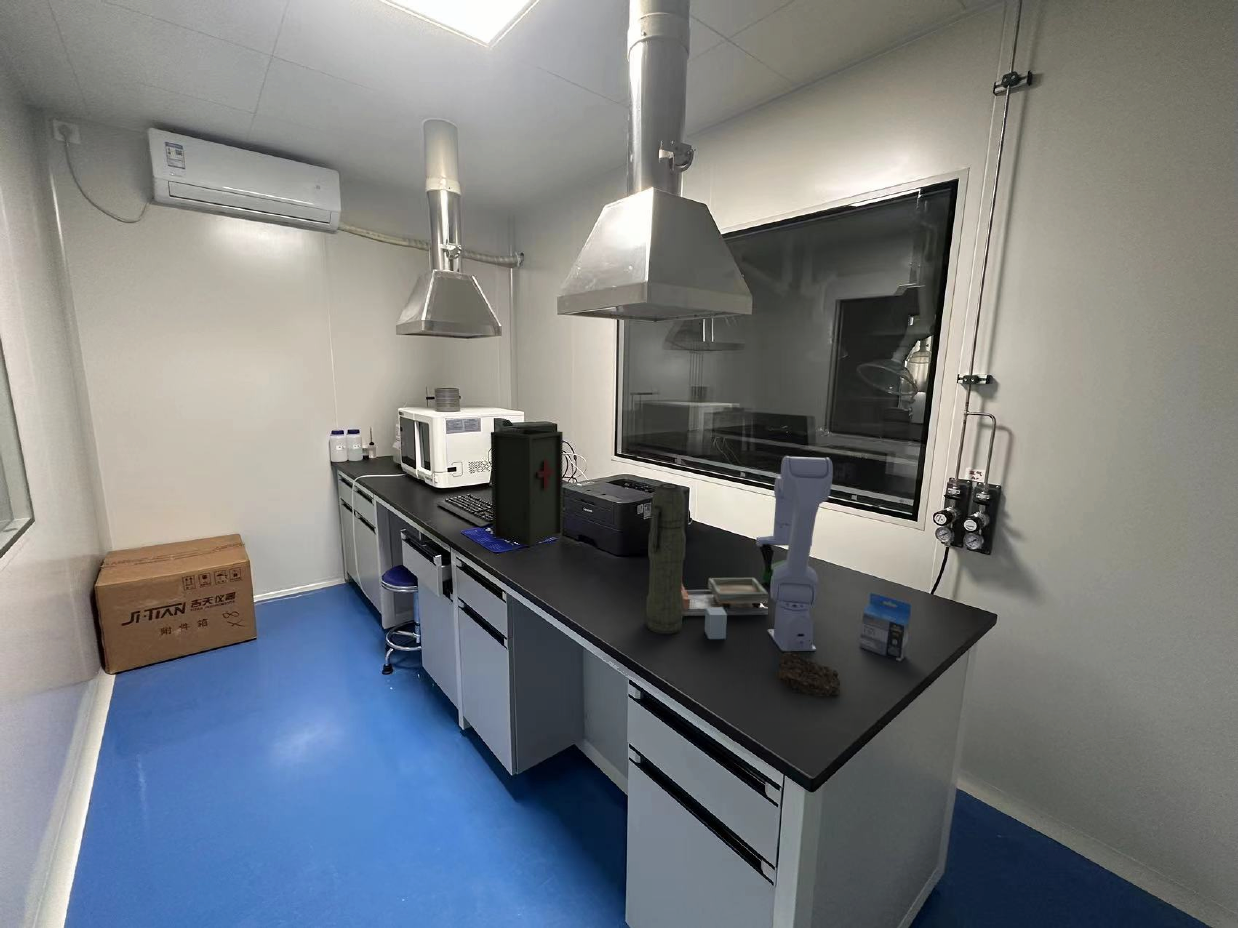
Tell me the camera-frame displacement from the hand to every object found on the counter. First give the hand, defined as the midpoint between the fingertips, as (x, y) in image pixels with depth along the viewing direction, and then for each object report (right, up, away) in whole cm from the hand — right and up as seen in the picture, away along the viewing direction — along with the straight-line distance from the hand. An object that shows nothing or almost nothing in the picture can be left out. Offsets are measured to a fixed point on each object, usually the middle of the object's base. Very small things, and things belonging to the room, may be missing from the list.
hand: (781, 571), depth 137 cm
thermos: (-33, -11, -12) cm, 36 cm away
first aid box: (-78, +1, +57) cm, 97 cm away
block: (-21, -12, -16) cm, 29 cm away
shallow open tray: (-12, -8, 0) cm, 15 cm away
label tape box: (+16, -14, -22) cm, 30 cm away
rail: (-17, -9, 0) cm, 19 cm away
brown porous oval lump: (-6, -16, -36) cm, 39 cm away
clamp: (+6, -7, +17) cm, 19 cm away
